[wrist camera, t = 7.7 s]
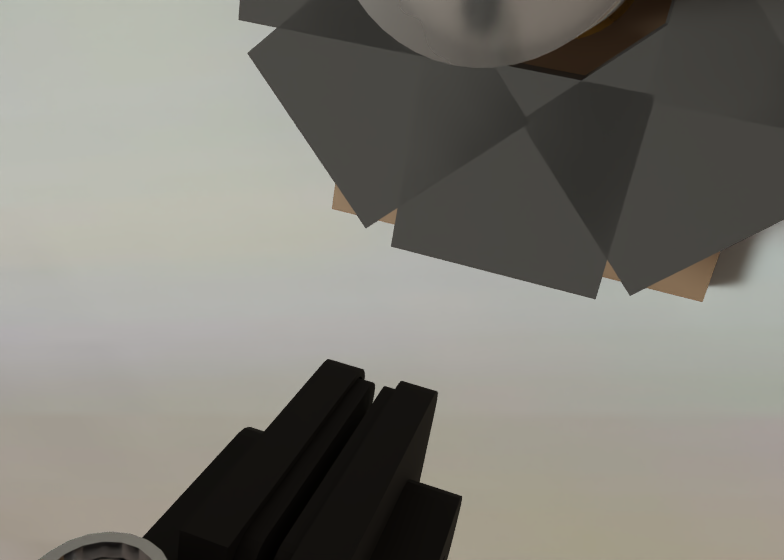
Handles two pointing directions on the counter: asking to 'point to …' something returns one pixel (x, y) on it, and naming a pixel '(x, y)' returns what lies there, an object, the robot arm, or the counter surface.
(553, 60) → the base board
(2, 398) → the counter surface
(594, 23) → the steel pipe
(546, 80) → the grey petal ring
